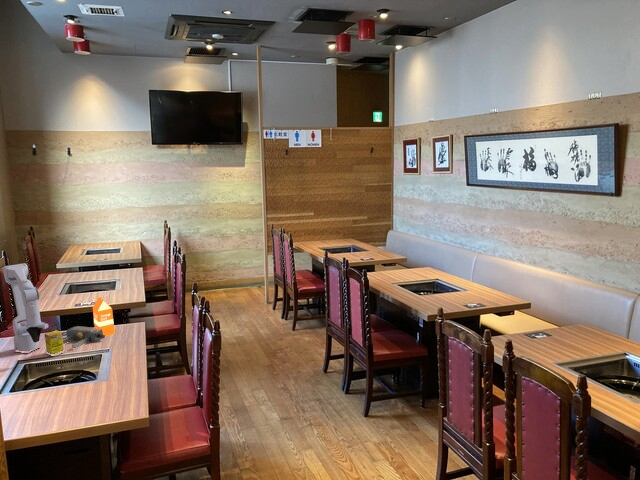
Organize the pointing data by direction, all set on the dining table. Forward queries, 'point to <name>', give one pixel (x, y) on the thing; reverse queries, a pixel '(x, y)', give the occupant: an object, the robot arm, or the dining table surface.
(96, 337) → the grey plush toy
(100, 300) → the orange juice
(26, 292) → the robot arm
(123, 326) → the dining table surface
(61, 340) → the supplement box
